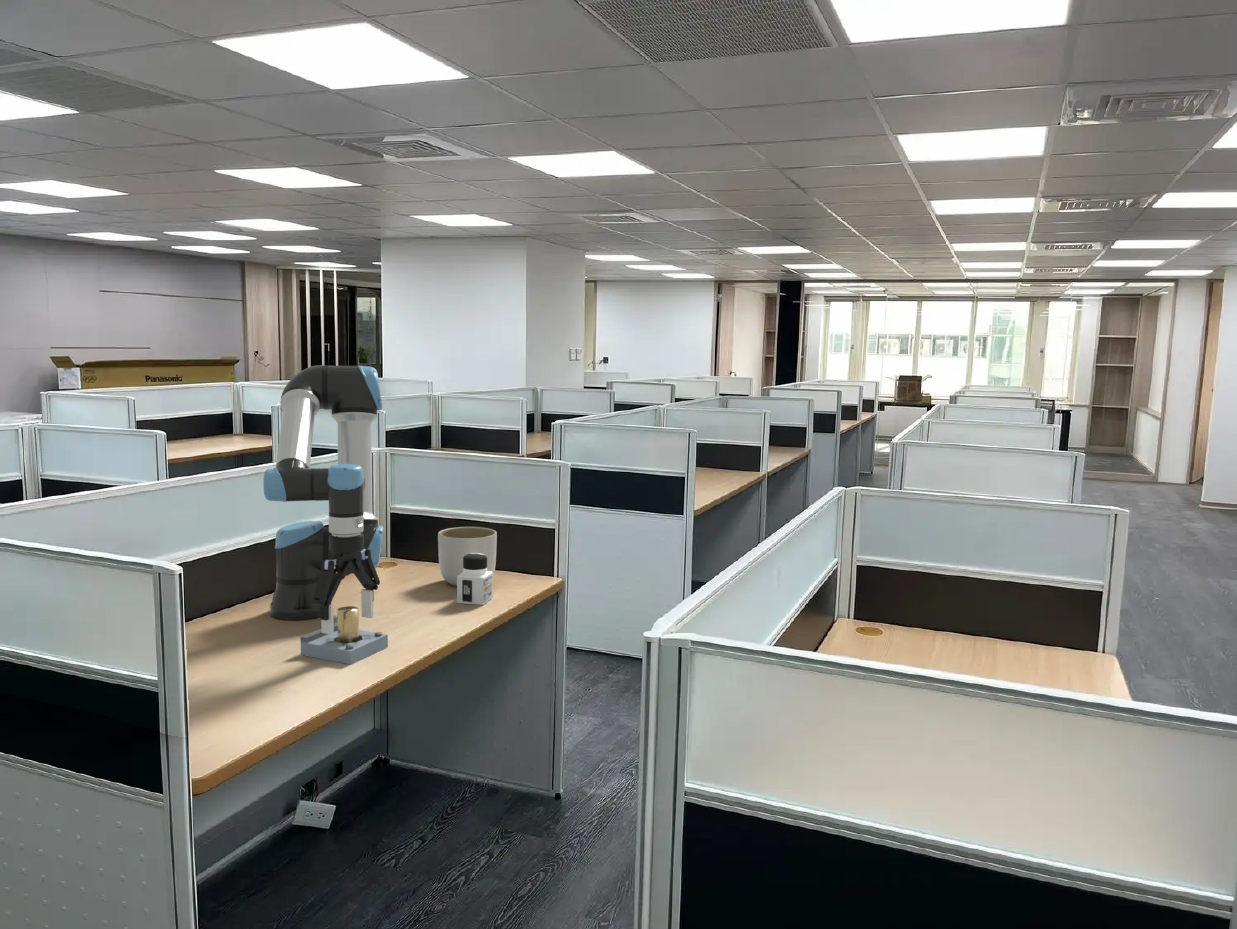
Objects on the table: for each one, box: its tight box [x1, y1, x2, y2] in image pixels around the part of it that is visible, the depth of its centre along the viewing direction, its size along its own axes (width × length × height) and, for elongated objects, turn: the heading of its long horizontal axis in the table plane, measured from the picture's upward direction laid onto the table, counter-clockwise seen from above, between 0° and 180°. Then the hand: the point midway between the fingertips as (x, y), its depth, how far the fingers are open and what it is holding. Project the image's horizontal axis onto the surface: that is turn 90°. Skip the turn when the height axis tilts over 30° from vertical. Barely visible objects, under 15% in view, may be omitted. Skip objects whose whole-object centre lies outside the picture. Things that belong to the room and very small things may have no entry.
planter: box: [437, 526, 498, 587], centre depth 272 cm, size 17×17×15 cm
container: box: [456, 553, 494, 606], centre depth 253 cm, size 8×8×13 cm
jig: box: [300, 621, 389, 665], centre depth 211 cm, size 14×13×4 cm
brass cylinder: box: [336, 605, 360, 644], centre depth 210 cm, size 5×5×10 cm
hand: (348, 625), depth 210 cm, fingers open, 13 cm apart
